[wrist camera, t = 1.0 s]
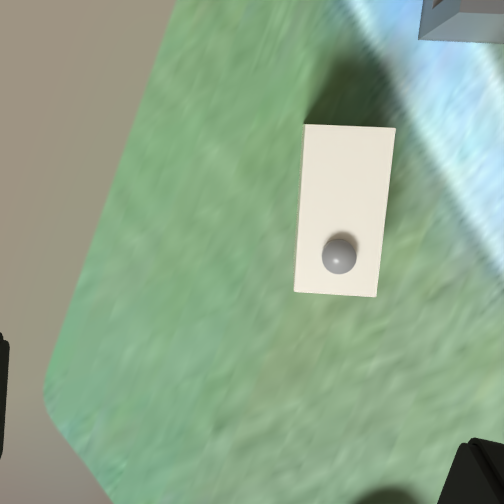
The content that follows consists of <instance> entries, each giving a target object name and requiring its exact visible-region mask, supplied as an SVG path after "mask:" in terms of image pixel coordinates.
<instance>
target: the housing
mask: <svg viewBox="0 0 504 504" xmlns="http://www.w3.org/2000/svg"><path fill="white" fill-rule="evenodd" d="M418 40H433V41H454V42H476V43H498V44H504V0H423V6H422V14H421V21H420V28H419V35H418Z"/></svg>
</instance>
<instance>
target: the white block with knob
mask: <svg viewBox="0 0 504 504" xmlns="http://www.w3.org/2000/svg"><path fill="white" fill-rule="evenodd" d="M395 130H396V128H384V127H361V126H337V125H314V124H303V130H302V145H301V160H300V175H299V190H298V205H297V220H296V235H295V250H294V292H305V293H321V294H336V295H351V296H366V297H376V293H377V284H378V276H379V267H380V259H381V250H382V241H383V233H384V224H385V216H386V207H387V199H388V190H389V181H390V173H391V164H392V156H393V147H394V139H395Z"/></svg>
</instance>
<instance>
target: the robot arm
mask: <svg viewBox="0 0 504 504" xmlns="http://www.w3.org/2000/svg"><path fill="white" fill-rule="evenodd" d="M9 350H10V347H9V343H8V341H6V340H3V336H2V333H0V458H1V455H2V452H3V441H4V426H5V411H6V395H7V380H8V364H9ZM437 504H504V444H501V443H497V442H493V441H488V440H484V439H479V438H471V439H470V440H469V442H468V443H462V444H461V445H460V446H459V448H458V450H457V452H456V455H455V458H454V460H453V463H452V466H451V468H450V471H449V474H448V476H447V479H446V481H445V484H444V487H443V489H442V492H441V495H440V497H439V500H438V503H437Z"/></svg>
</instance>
